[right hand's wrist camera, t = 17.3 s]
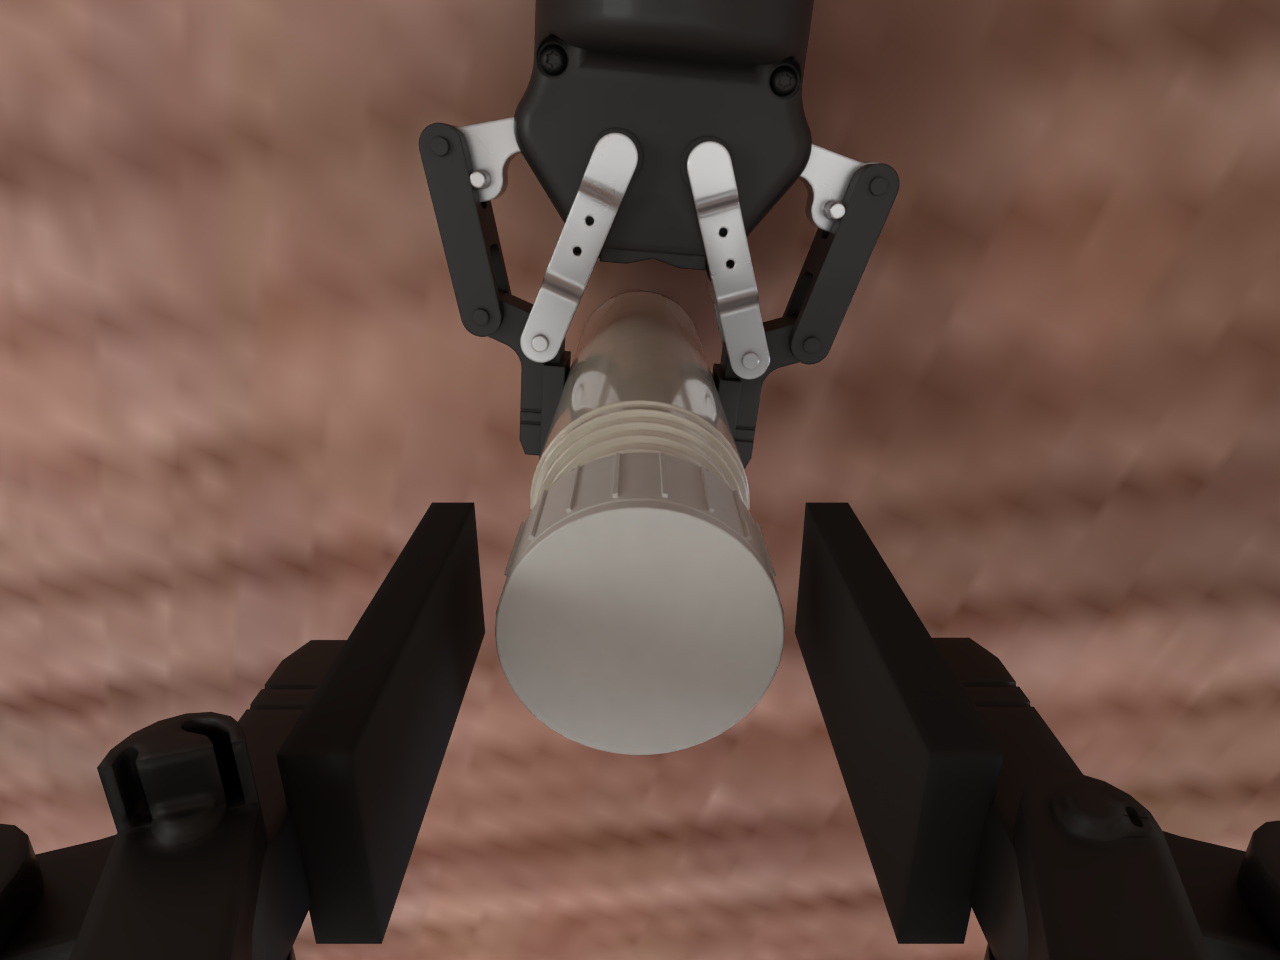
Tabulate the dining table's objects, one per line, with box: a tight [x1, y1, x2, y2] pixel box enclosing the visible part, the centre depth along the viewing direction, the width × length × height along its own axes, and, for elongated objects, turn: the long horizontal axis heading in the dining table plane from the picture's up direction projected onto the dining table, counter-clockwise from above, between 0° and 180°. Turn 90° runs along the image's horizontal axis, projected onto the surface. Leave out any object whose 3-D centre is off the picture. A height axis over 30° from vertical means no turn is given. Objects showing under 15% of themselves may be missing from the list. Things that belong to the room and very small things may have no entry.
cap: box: [495, 452, 784, 755], centre depth 14 cm, size 5×5×2 cm
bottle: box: [530, 291, 750, 511], centre depth 22 cm, size 5×5×20 cm
